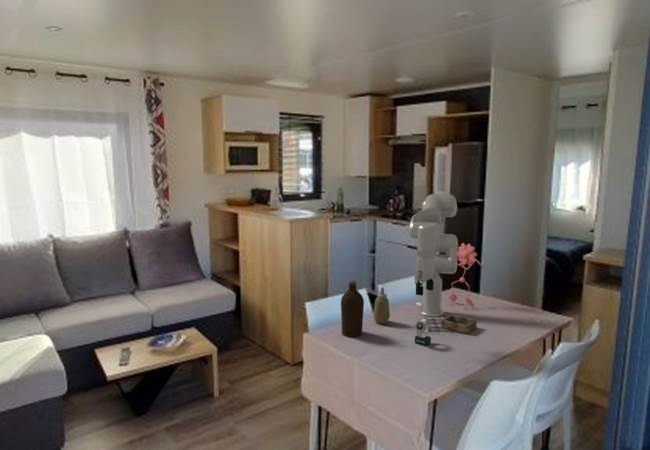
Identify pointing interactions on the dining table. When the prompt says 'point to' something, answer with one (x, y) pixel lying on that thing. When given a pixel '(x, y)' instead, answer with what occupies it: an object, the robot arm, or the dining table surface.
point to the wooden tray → (459, 324)
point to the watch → (422, 332)
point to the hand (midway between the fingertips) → (424, 292)
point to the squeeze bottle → (381, 308)
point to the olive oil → (352, 311)
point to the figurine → (465, 256)
